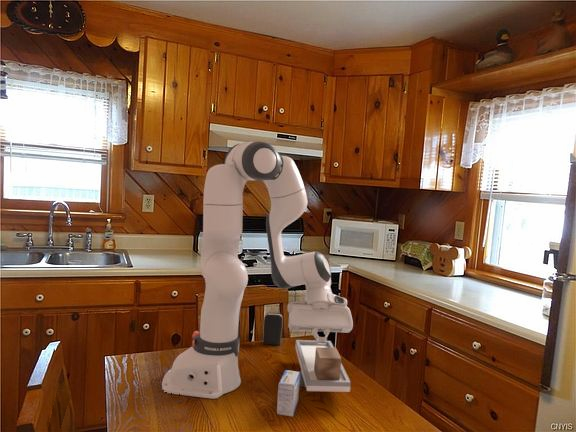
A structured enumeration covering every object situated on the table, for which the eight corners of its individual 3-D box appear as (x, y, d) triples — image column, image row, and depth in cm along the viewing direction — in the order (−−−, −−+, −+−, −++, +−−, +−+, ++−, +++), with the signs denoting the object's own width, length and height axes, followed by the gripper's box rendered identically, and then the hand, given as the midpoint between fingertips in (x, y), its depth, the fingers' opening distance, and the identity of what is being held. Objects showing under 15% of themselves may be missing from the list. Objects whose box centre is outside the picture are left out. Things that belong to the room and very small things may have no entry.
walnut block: (318, 382, 112) (320, 357, 111) (314, 370, 118) (315, 347, 118) (339, 382, 112) (341, 358, 111) (334, 370, 119) (336, 347, 118)
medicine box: (293, 417, 104) (295, 385, 103) (276, 414, 105) (278, 382, 104) (298, 401, 112) (300, 371, 111) (282, 398, 112) (284, 369, 112)
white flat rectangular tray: (306, 391, 109) (307, 381, 109) (295, 347, 137) (295, 339, 137) (349, 391, 110) (350, 382, 110) (330, 348, 138) (330, 340, 138)
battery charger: (281, 341, 153) (283, 312, 152) (281, 345, 149) (283, 315, 148) (262, 340, 152) (264, 310, 151) (262, 344, 149) (264, 314, 148)
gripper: (288, 296, 128) (288, 338, 119) (351, 299, 129) (356, 341, 121) (286, 305, 132) (286, 346, 123) (347, 308, 134) (351, 349, 125)
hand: (321, 343), depth 122 cm, fingers closed
